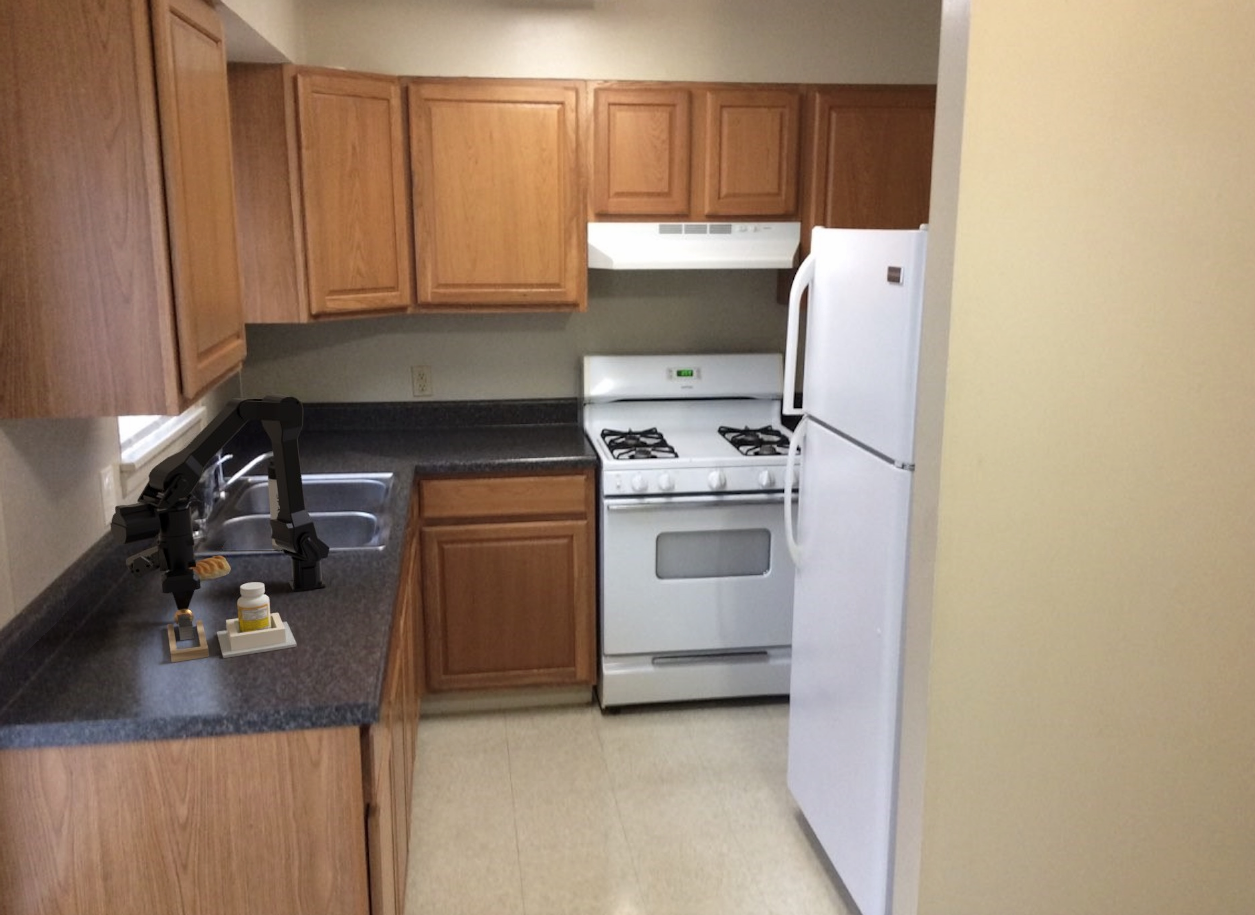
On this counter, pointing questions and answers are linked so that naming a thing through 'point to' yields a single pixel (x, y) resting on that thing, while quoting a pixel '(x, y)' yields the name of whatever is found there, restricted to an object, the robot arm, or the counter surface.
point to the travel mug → (273, 497)
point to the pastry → (212, 568)
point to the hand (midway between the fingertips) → (182, 614)
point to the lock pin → (184, 623)
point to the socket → (255, 638)
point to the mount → (189, 652)
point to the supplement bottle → (253, 608)
